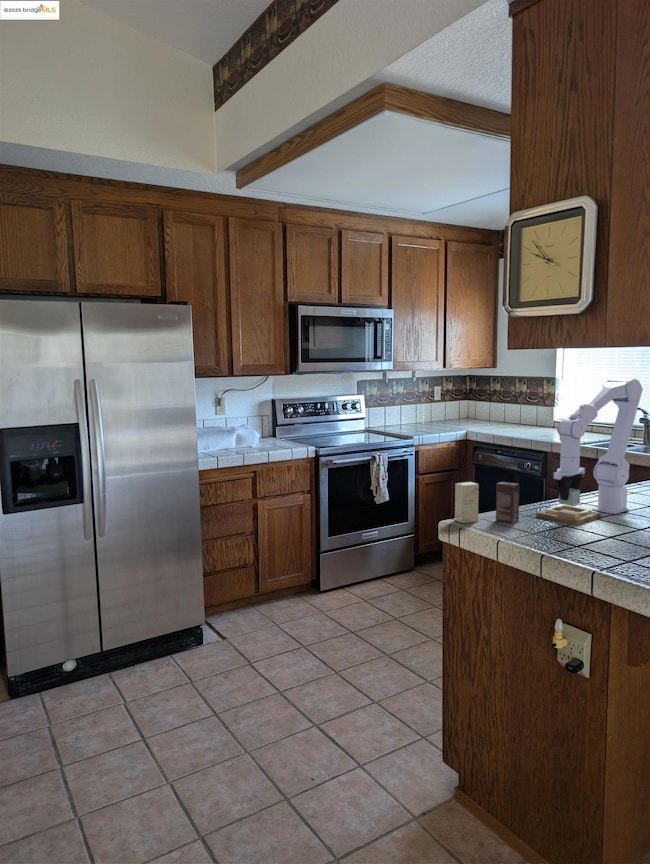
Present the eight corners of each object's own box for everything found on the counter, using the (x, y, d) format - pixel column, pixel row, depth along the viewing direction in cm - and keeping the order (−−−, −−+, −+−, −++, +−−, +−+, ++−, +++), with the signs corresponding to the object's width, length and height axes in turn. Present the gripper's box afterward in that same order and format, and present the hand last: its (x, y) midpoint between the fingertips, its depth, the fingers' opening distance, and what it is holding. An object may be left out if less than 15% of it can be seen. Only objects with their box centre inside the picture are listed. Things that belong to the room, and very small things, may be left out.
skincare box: (462, 523, 191) (462, 485, 189) (454, 520, 195) (454, 483, 193) (479, 521, 193) (479, 483, 192) (470, 518, 197) (470, 481, 196)
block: (566, 501, 199) (567, 487, 198) (579, 503, 195) (580, 489, 194) (558, 503, 196) (559, 489, 195) (571, 505, 192) (572, 491, 192)
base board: (560, 509, 206) (561, 502, 206) (600, 517, 195) (600, 510, 195) (536, 516, 198) (536, 509, 197) (576, 525, 187) (576, 517, 186)
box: (519, 520, 193) (520, 483, 192) (512, 523, 190) (513, 485, 188) (501, 517, 197) (502, 481, 196) (494, 520, 194) (495, 483, 193)
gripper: (571, 452, 201) (569, 493, 203) (545, 457, 193) (544, 499, 194) (591, 455, 196) (589, 496, 197) (565, 460, 187) (564, 503, 189)
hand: (568, 498), depth 196 cm, fingers closed on block, 4 cm apart
